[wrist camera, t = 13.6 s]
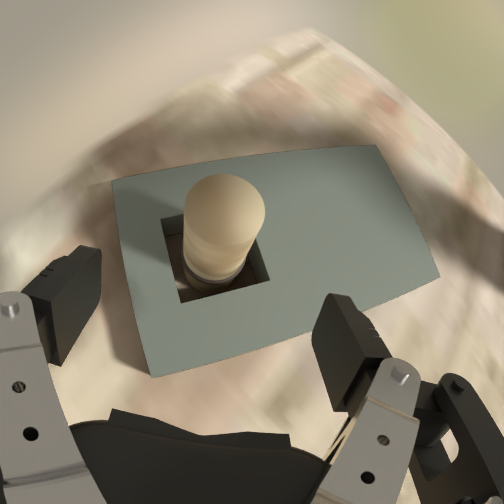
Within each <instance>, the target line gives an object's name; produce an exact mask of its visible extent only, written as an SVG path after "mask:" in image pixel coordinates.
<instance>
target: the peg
mask: <svg viewBox="0 0 504 504" xmlns="http://www.w3.org/2000/svg"><path fill="white" fill-rule="evenodd" d="M264 218H265V206H264V202H263V199H262V197H261V195H260V194H259V192H258V191H257V190H256V188H255V187H254V186H253V185H251V184H250V183H249V182H247V181H246V180H244V179H242V178H240V177H237V176H234V175H229V174H215V175H211V176H208V177H205V178H203V179H201V180H199V181H198V182H197V183H195V184H194V185H193V186H192V188H191V189H190V190H189V192H188V194H187V196H186V199H185V204H184V237H183V242H182V246H181V258H182V262H183V270H184V274H185V277H186V279H187V281H188V282H189V283H190V284H191V285H192V286H193V287H194V288H196V289H197V290H199V291H202V292H206V293H216V292H220V291H222V290H224V289H226V288H227V287H228V286H229V285H230V284H231V283H232V282H233V280H234V278H235V277H236V276H237V275H238V274H239V273H240V271H241V270H242V268H243V266H244V264H245V261H246V256H247V253H248V251H249V250H250V248H251V246H252V244H253V242H254V240H255V238H256V236H257V234H258V232H259V230H260V228H261V226H262V224H263V222H264Z"/></svg>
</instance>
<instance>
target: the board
mask: <svg viewBox="0 0 504 504" xmlns="http://www.w3.org/2000/svg"><path fill="white" fill-rule="evenodd" d="M215 174H229V175H234V176H237V177H240V178H242V179H244V180H246V181H247V182H249V183H250V184H251V185H253V186H254V187H255V188H256V190H257V191H258V192H259V194H260V195H261V197H262V199H263V202H264V206H265V218H264V222H263V224H262V226H261V228H260V230H259V232H258V234H257V236H256V238H255V240H254V242H253V244H252V246H251V248H250V250H249V251H248V253H247V254H248V257H249V260H250V263H251V266H252V269H253V272H254V275H255V278H256V281H257V284H255V285H251V286H248V287H244V288H240V289H236V290H232V291H229V292H225V293H221V294H217V295H213V296H209V297H205V298H201V299H197V300H193V301H189V302H185V303H181V302H180V298H179V295H178V291H177V287H176V283H175V279H174V275H173V271H172V267H171V263H170V259H169V255H168V251H167V247H166V243H165V238H164V236H169V235H173V234H178V233H182V232H184V204H185V199H186V196H187V194H188V192H189V190H190V189H191V188H192V186H193V185H194V184H195V183H197V182H198V181H199V180H201V179H203V178H205V177H208V176H211V175H215ZM112 188H113V197H114V205H115V212H116V219H117V226H118V232H119V239H120V245H121V250H122V256H123V262H124V267H125V272H126V277H127V282H128V287H129V292H130V296H131V301H132V305H133V310H134V314H135V318H136V323H137V327H138V331H139V335H140V339H141V342H142V346H143V350H144V354H145V357H146V361H147V364H148V368H149V371H150V375H151V378H156V377H160V376H165V375H169V374H173V373H176V372H180V371H184V370H188V369H192V368H196V367H199V366H203V365H207V364H210V363H214V362H217V361H221V360H224V359H227V358H231V357H234V356H238V355H241V354H244V353H247V352H251V351H254V350H257V349H260V348H263V347H266V346H269V345H272V344H275V343H278V342H281V341H284V340H287V339H290V338H293V337H296V336H299V335H302V334H305V333H307V332H310V331H313V328H314V326H315V323H316V320H317V318H318V315H319V313H320V310H321V308H322V305H323V302H324V300H325V298H326V296H327V295H328V294H329V293H334V294H340V295H346V296H350V298H351V299H352V301H353V302H354V304H355V306H356V307H357V309H358V311H361V312H363V311H365V310H368V309H370V308H373V307H375V306H378V305H380V304H382V303H385V302H387V301H389V300H392V299H394V298H396V297H399V296H401V295H403V294H406V293H408V292H410V291H412V290H415V289H417V288H419V287H421V286H423V285H425V284H427V283H429V282H432V281H434V280H436V279H438V278H440V274H439V272H438V269H437V267H436V264H435V262H434V260H433V257H432V255H431V252H430V250H429V248H428V245H427V243H426V241H425V239H424V236H423V234H422V232H421V230H420V228H419V226H418V223H417V221H416V219H415V217H414V215H413V213H412V211H411V209H410V207H409V205H408V203H407V201H406V199H405V197H404V195H403V193H402V191H401V189H400V187H399V185H398V183H397V182H396V180H395V178H394V176H393V174H392V172H391V171H390V169H389V167H388V165H387V163H386V162H385V160H384V158H383V156H382V155H381V153H380V151H379V149H378V148H377V146H376V145H360V146H344V147H329V148H317V149H306V150H295V151H285V152H276V153H268V154H259V155H252V156H244V157H237V158H230V159H223V160H216V161H210V162H204V163H198V164H192V165H186V166H180V167H175V168H170V169H164V170H159V171H154V172H149V173H144V174H139V175H135V176H130V177H126V178H121V179H117V180H112Z"/></svg>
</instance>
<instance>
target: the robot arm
mask: <svg viewBox="0 0 504 504" xmlns="http://www.w3.org/2000/svg"><path fill="white" fill-rule="evenodd" d="M101 260H102V255H101V250H100V249H96V248H92V247H87V246H83V245H80V246H78V247H77V248H76V249H75V250H74V251H73V252H72V253H71V254H70V255H69V256H63V257H60V258H58V259H56V260H53V261H52V262H51V263H50V264H49V265H48V266H47V267H46V268H45V269H44V270H42V271H41V272H40V273H39V275H37V276H36V277H35V278H34V279H33V280H32V281H31V282H30V283H29V284H28V285H27V286H26V287H25V288H24V289H23V290H22V291H21V292H4V293H1V294H0V504H396V501H397V498H398V496H399V493H400V490H401V487H402V484H403V481H404V478H405V475H406V472H407V468H408V467H409V470H410V473H411V475H412V478H413V481H414V484H415V487H416V490H417V493H418V496H419V499H420V502H421V504H504V437H503V435H502V433H501V432H500V430H499V428H498V427H497V425H496V423H495V422H494V420H493V418H492V417H491V415H490V413H489V412H488V410H487V409H486V407H485V405H484V404H483V402H482V401H481V399H480V398H479V396H478V394H477V393H476V391H475V390H474V388H473V387H472V385H471V384H470V383H469V382H468V381H467V380H466V379H464V378H463V377H461V376H459V375H457V374H453V373H447V374H444V375H443V376H442V378H441V379H440V381H439V382H438V384H433V383H429V382H425V381H421V377H420V374H419V373H418V371H417V370H416V369H415V368H414V367H413V366H412V365H411V364H409V363H408V362H406V361H404V360H401V359H398V358H393V357H392V355H391V354H390V352H389V350H388V349H387V347H386V345H385V344H384V342H383V340H382V339H381V337H379V334H378V332H377V331H376V330H375V327H374V326H373V324H372V323H371V321H370V319H369V318H367V317H366V316H365V315H364V314H363V313H362V312H361V311H358V309H357V307H356V306H355V304H354V302H353V301H352V299H351V298H350V296H346V295H340V294H334V293H329V294H328V295H327V296H326V298H325V300H324V302H323V305H322V308H321V310H320V313H319V315H318V318H317V320H316V323H315V326H314V328H313V332H312V346H313V349H314V352H315V355H316V358H317V362H318V365H319V368H320V371H321V374H322V377H323V380H324V383H325V386H326V389H327V392H328V395H329V399H330V402H331V405H332V408H333V411H334V412H348V415H349V416H348V417H347V419H346V420H345V422H344V423H343V425H342V427H341V429H340V430H339V432H338V434H337V435H336V437H335V439H334V440H333V442H332V444H331V445H330V447H329V449H328V450H327V452H326V454H325V455H324V457H323V458H322V459H321V458H319V457H317V456H315V455H313V454H311V453H309V452H307V451H304V450H301V449H298V448H295V447H291V443H290V437H289V434H275V433H259V432H239V433H229V434H219V435H206V436H202V435H197V434H194V433H191V432H188V431H186V430H183V429H180V428H178V427H175V426H173V425H170V424H168V423H165V422H163V421H160V420H158V419H156V418H151V417H146V416H142V415H137V414H133V413H129V412H125V411H121V410H117V409H113V408H112V411H111V414H110V417H109V420H93V421H86V422H80V423H77V424H73V425H70V426H68V423H67V421H66V418H65V416H64V413H63V410H62V408H61V405H60V402H59V399H58V396H57V393H56V390H55V387H54V384H53V381H52V378H51V375H50V371H49V368H48V363H51V364H54V365H57V366H60V367H61V366H62V364H63V362H64V361H65V359H66V357H67V355H68V354H69V352H70V350H71V348H72V347H73V345H74V343H75V342H76V340H77V338H78V336H79V335H80V333H81V331H82V330H83V328H84V327H85V325H86V323H87V322H88V320H89V318H90V317H91V315H92V314H93V312H94V310H95V309H96V307H97V305H98V303H99V300H100V295H101ZM449 429H451V431H452V433H453V435H454V437H455V439H456V441H457V443H458V446H459V452H458V456H457V458H456V459H455V460H454V461H453V462H452V463H451V462H450V460H449V457H448V455H447V453H446V451H445V448H444V446H443V444H442V442H441V440H440V439H441V438H442V437H443V436H444V435H445V434H446V432H447V431H448V430H449Z"/></svg>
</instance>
